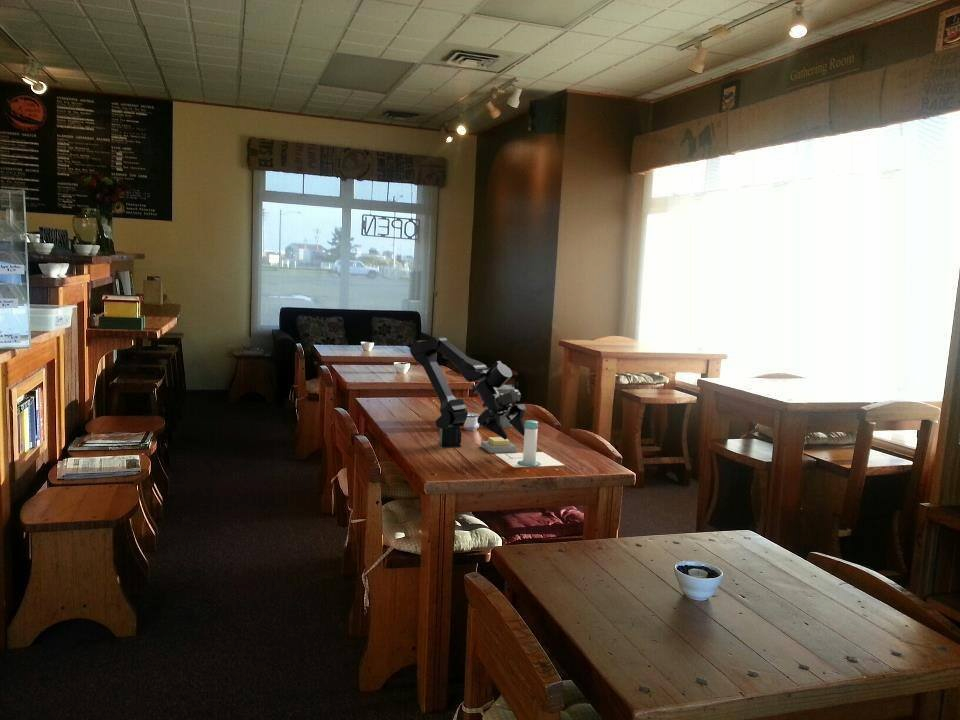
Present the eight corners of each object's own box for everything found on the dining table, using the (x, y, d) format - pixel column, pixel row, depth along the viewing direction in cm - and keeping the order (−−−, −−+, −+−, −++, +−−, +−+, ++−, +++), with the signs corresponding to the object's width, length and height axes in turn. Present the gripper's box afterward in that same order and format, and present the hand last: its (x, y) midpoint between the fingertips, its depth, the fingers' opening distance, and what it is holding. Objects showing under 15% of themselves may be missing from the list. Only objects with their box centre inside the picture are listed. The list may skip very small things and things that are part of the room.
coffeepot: (502, 430, 286) (504, 382, 284) (481, 426, 291) (483, 379, 289) (522, 424, 299) (525, 379, 296) (502, 421, 304) (504, 376, 302)
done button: (493, 447, 249) (494, 441, 249) (488, 443, 254) (488, 437, 254) (509, 447, 251) (509, 440, 251) (503, 443, 256) (503, 437, 256)
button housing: (490, 454, 247) (490, 447, 247) (481, 448, 256) (481, 441, 255) (516, 453, 250) (516, 446, 250) (506, 447, 259) (506, 440, 258)
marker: (523, 464, 234) (525, 422, 232) (522, 461, 238) (524, 420, 236) (536, 464, 234) (538, 423, 233) (534, 461, 238) (537, 420, 237)
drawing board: (512, 469, 230) (512, 467, 230) (492, 454, 247) (492, 452, 247) (566, 467, 236) (567, 464, 236) (543, 453, 253) (543, 451, 253)
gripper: (486, 383, 233) (512, 425, 227) (523, 379, 247) (549, 418, 241) (465, 405, 239) (490, 446, 233) (503, 399, 253) (527, 438, 247)
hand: (515, 436), depth 239 cm, fingers open, 9 cm apart
